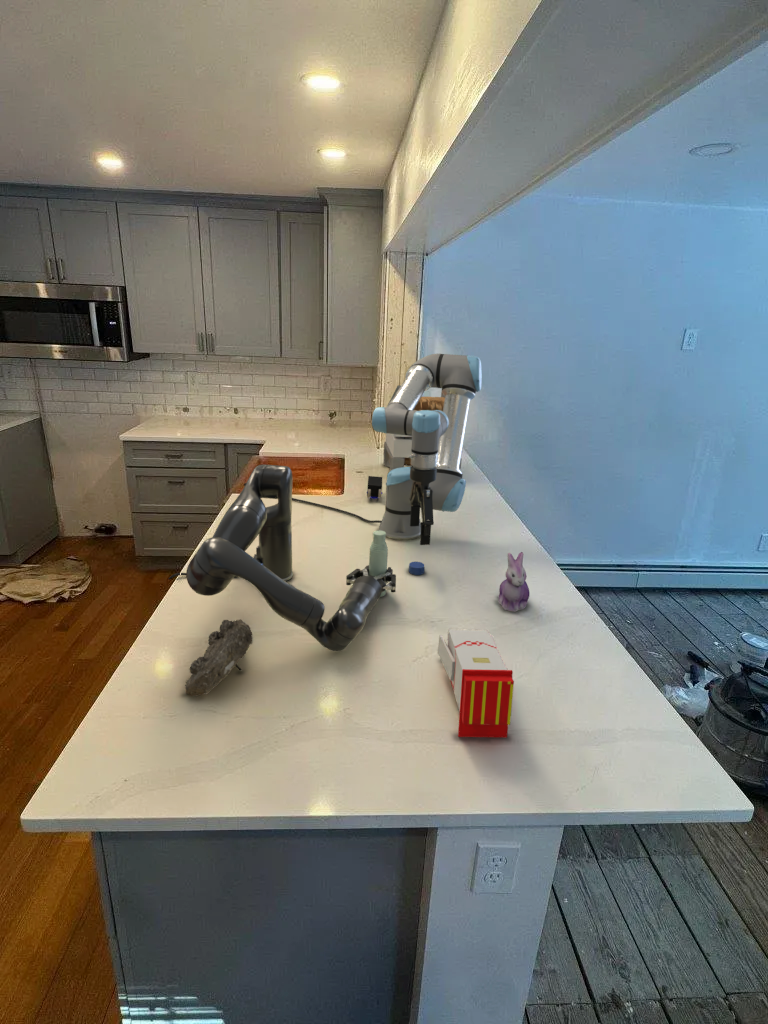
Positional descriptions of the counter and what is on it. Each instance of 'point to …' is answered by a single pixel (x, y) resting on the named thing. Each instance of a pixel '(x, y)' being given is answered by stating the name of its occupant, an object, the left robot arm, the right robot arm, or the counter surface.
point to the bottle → (378, 555)
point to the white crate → (401, 445)
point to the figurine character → (374, 487)
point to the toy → (478, 682)
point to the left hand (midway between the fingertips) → (380, 568)
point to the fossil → (219, 656)
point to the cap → (416, 568)
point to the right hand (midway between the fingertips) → (419, 534)
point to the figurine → (514, 585)
